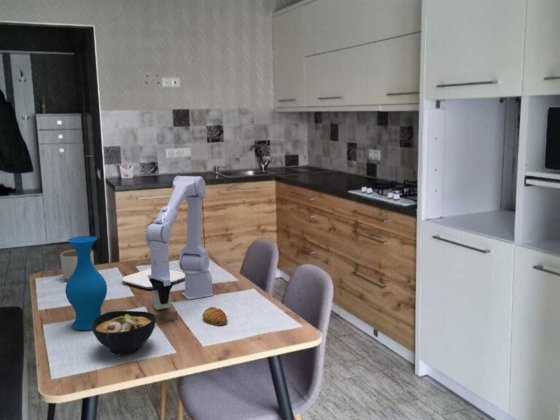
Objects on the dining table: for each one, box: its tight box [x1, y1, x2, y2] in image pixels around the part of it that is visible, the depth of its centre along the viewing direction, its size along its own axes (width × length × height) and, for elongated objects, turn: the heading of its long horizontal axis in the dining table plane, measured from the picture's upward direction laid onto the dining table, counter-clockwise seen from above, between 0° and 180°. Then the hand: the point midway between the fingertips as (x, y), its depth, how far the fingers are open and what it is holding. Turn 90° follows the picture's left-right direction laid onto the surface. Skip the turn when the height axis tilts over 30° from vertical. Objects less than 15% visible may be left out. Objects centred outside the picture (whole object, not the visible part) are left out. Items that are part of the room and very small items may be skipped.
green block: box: [151, 289, 171, 309], centre depth 176 cm, size 4×4×5 cm
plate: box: [121, 268, 185, 290], centre depth 217 cm, size 21×21×2 cm
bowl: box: [92, 310, 156, 356], centre depth 153 cm, size 17×17×10 cm
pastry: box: [202, 306, 228, 327], centre depth 174 cm, size 9×7×4 cm
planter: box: [59, 248, 95, 281], centre depth 220 cm, size 12×12×11 cm
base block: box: [147, 302, 178, 324], centre depth 177 cm, size 8×8×4 cm
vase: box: [64, 235, 108, 331], centre depth 170 cm, size 12×13×28 cm
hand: (161, 301), depth 176 cm, fingers closed on green block, 4 cm apart
